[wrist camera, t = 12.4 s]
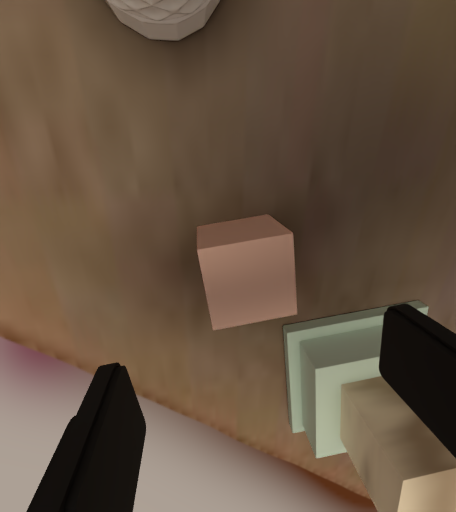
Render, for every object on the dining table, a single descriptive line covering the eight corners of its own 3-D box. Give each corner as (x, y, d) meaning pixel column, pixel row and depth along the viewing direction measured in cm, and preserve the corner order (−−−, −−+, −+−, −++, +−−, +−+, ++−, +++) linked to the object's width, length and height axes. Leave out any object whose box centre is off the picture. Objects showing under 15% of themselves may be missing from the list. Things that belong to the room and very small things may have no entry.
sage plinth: (418, 300, 22) (464, 329, 18) (401, 399, 26) (435, 439, 22) (282, 325, 21) (301, 361, 17) (289, 423, 25) (305, 468, 22)
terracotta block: (267, 214, 18) (293, 233, 13) (273, 277, 19) (297, 314, 15) (197, 226, 17) (197, 249, 13) (209, 289, 19) (213, 330, 15)
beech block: (418, 368, 19) (510, 455, 13) (408, 422, 21) (484, 516, 16) (341, 384, 19) (403, 480, 13) (340, 437, 21) (392, 539, 15)
